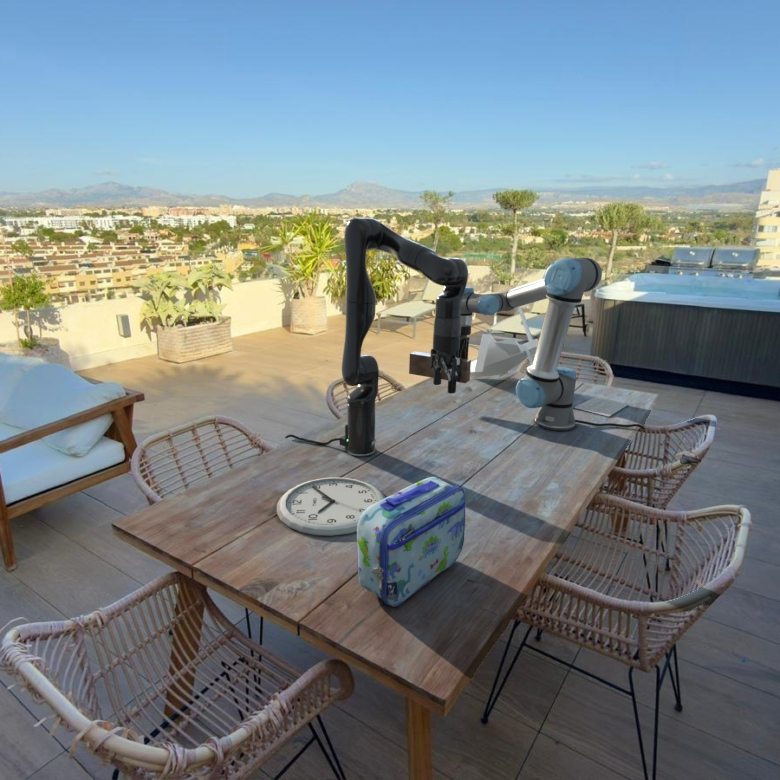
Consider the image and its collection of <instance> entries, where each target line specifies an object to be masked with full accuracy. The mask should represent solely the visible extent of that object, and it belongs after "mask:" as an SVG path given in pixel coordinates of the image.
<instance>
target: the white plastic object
mask: <svg viewBox="0 0 780 780" xmlns="http://www.w3.org/2000/svg"><path fill="white" fill-rule="evenodd" d="M517 310H518V314H519V316H520V319H521V322H522V325H523V328H524V331H525V334H526V338H527V342H524V343H522V344H521V343H519V342H518V341H517V338H516V337H512V338H507V339H503V340H499V341H497V340H496V339H495V338H494V336H492V334H491V333H482V334H481V339H480V344H479V349H478V353H477V356H476V357H477V358H476V359H475V360H473V361H471V368H470V377H472V379H476V378H485V377H492V376H493V377H494V376H498V377H502V376H506V375H508V374H509V371H511V370H513V368H515V367H516V366H518V365H519V364H521V363H522V362H524V361H525V360H527V359H528V363H529V366H530V365H532V364H533V361H534V357H533V355H535V353H536V349H537V346H538V342H539V338H534V339H533V336H532V334H531V330H530V327H529V325H528V324H529V323H528V321H527V318H526V316H525V312H524V311H523V309H522V306H520V307H517Z"/></svg>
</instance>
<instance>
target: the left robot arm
mask: <svg viewBox="0 0 780 780" xmlns="http://www.w3.org/2000/svg"><path fill="white" fill-rule="evenodd" d="M373 250H376V251H381V252H385V253H387V254H390V255H392V256H393V257H394V258H395V259H396V260H397V261H398V262H399V263H400V264H401V265H403V266H405V267H406V268H408V269H411V270H413V271H415V272H417V273H420V274H422V275H423V276H424V277H425V278H426V279H428V280H429V281H431V282H432V283H433V284H436V285H438V286H440V287H441V286H442V287H443V289H442V292H441V293H440V294H438V295H437V296H436V299H435V306H434V309H435V310H434V321H433V334H432V348H431V349H430V354H431V355H430V368H432V371H433V372H434V378H432V381H433V382H432V383H433V384H432V385H434V386H440V385H441V384H442V379H441V374H442V372H440V371H442V369H444V371H445V373H446V374H447V376H448V379H449V380H447V393H448V394H456V392H457V382H456V381H457V380H461V379H462V358H456V355H455V353H456V351H458V350H459V349H460V336H461V301H462V298H463V295H464V291H465V288H466V287H467V283H468V280H469V269H468V266H467V263H466V262H465V261H464V259H461V258H458V257H453V258H452V257H451V258H446V257H445V258H444V257H442V256H439V255H438V253H437V252H436V251H435V250H433V249H432V248H430V247H427V246H426V245H423V244H421V243H419V242H415V241H413V240H411V239H409V238H407V237H405V236H403V235H401V234H399V233H398V232H395V231H394V230H392V229H391V228H389V227H388V226H386V225H385V224H384V223H382V222H380V221H379V220H377V219H376V218H372V217H353V218H350V219H349V220H348V222H347V223H346V225H345V228H344V253H345V267H346V275H345V277H346V278H345V279H346V281H345V283H346V284H345V286H346V288H345V289H346V290H345V291H346V292H345V327H344V328H345V331H344V342H343V351H342V359H341V376H342V380H343V381H344V383H345V385H347V386H349V387H355V388H354V389H353V390H352V391H351V392H350V393H348V395H347V398H346V404H347V405H346V408H347V409H346V410H347V412H346V413H347V423H346V424H345V425H344V435H342V436H340V437H335V438H332V439H329V440H328V441H326V442H325V441H323V442H321V441H316V440H311V439H308V438H305V437H300V436H297V435H294V434H287V435H286V436H285V437H284V438H285V439H288V438H294V439H296V440H299V441H304V442H307V443H310V444H314V445H315V444H316V445H320V446H326V445H327V446H328V445H329V444H331V443H332V442H336V441H339V446H342V447H344V450H345V451H344V452H347V453H348V454H349V455H350V456H353V457H358V458H359V457H360V458H364V457H369V456H372V455H374V454H375V453H376V443H377V438H376V399H377V397H378V393H379V392H378V391H379V377H380V371H379V364H378V361H377V359H376V357H374V356H373V355H371V354H362V347H363V344H364V340H365V339H366V336H367V335H368V333H369V331H370V329H371V327H372V325H373V324H374V321H375V318H376V307H377V306H376V305H377V295H376V291H375V287H374V286H373V283H372V281H371V278H370V276H369V274H368V271H367V251H373ZM433 361H435V362H434V364H433ZM451 368H452V369H451ZM457 371H458V375H457ZM451 373H452V376H451ZM299 437H300V438H299Z"/></svg>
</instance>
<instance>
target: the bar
mask: <svg viewBox="0 0 780 780" xmlns="http://www.w3.org/2000/svg"><path fill="white" fill-rule="evenodd" d="M430 355H431V353H427V352H423V351H422V352H421V351H412V352H410V353H409V361H408V363H409V365H408V374H409V375H414V376H420V377H426V378H431V379H433V378H434V372H433V371H432V368H430ZM434 362H435V361H433V364H434ZM471 362H472V359H470V358H468V359H462V379H461V380H460V381H456V383H461V384H467V383H468V382H470V380H471V379H470V378H471V375H470V368H471ZM451 369H452V368H451ZM440 372H442V374H441V380H443V381H444V380H445V381H448V380H449V379H448V376H447V374H446V373H445V371H444V369H442V371H440ZM451 376H452V373H451Z"/></svg>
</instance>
